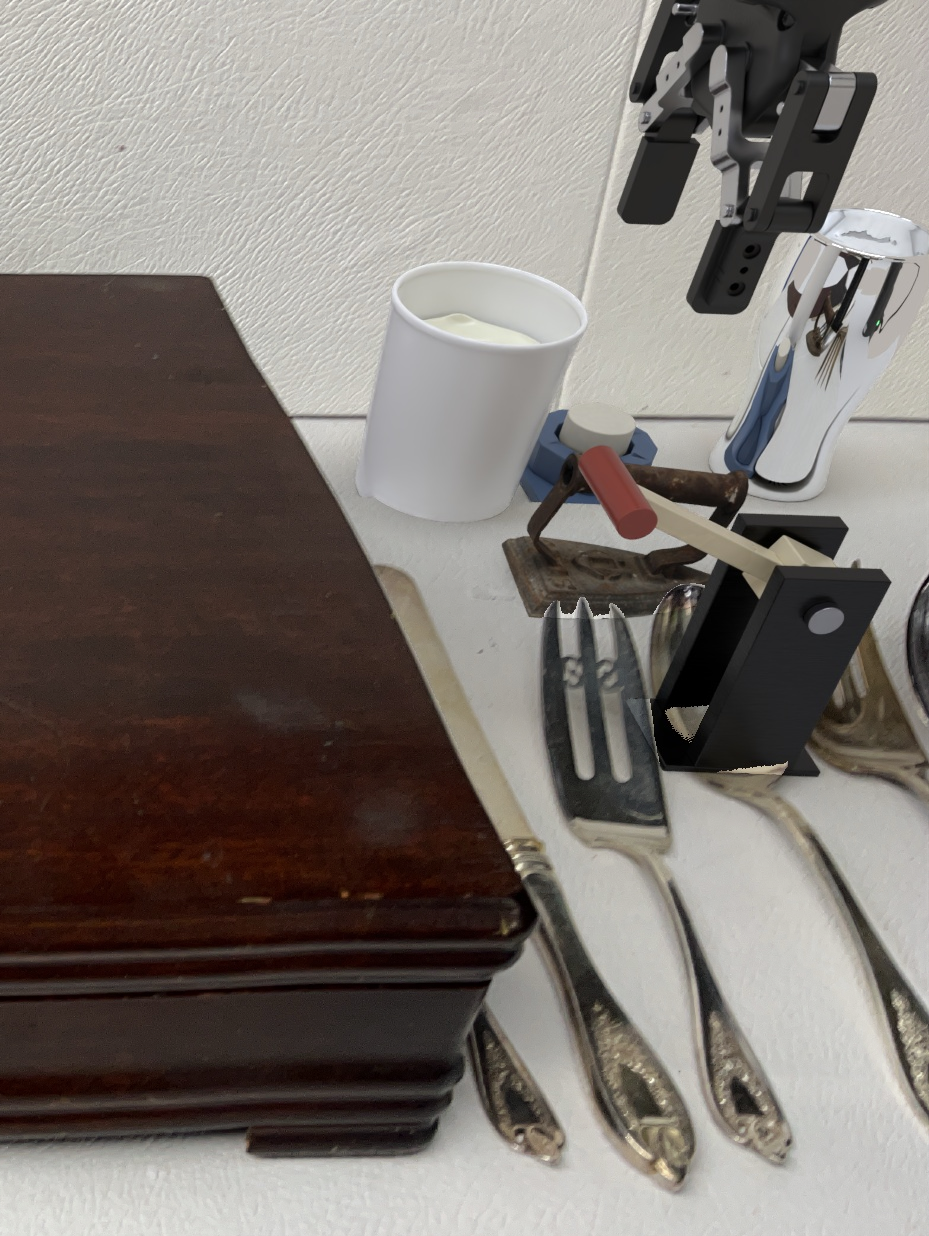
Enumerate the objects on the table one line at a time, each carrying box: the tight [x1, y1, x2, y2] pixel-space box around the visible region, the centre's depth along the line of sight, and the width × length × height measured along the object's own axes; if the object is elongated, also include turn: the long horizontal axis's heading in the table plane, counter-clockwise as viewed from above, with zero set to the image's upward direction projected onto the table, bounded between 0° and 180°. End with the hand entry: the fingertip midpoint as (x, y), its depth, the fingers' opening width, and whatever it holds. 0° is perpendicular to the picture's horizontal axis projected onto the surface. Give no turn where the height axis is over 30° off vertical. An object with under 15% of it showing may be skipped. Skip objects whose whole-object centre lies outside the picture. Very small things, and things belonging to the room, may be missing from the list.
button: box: [559, 401, 637, 457], centre depth 101 cm, size 4×4×2 cm
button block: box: [519, 408, 659, 505], centre depth 102 cm, size 10×8×2 cm
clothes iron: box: [501, 452, 749, 619], centre depth 91 cm, size 7×11×10 cm, turn 84°
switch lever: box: [578, 445, 838, 599], centre depth 76 cm, size 12×5×2 cm, turn 87°
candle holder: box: [354, 260, 590, 524], centre depth 97 cm, size 10×10×12 cm
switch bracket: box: [649, 512, 893, 778], centre depth 80 cm, size 7×6×12 cm
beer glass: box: [708, 204, 929, 503], centre depth 98 cm, size 7×7×15 cm
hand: (675, 263), depth 75 cm, fingers open, 8 cm apart
